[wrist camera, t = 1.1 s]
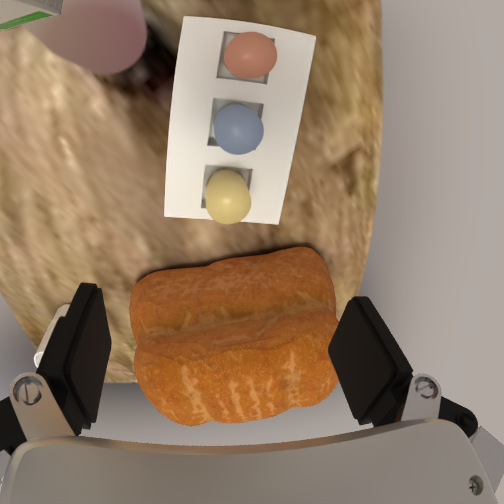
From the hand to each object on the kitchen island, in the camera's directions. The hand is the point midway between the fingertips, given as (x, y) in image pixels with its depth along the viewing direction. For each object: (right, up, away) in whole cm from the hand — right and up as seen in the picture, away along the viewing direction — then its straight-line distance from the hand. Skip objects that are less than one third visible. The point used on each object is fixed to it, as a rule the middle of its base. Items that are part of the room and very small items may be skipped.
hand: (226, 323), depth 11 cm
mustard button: (-2, +9, +19) cm, 21 cm away
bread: (-2, -4, +32) cm, 32 cm away
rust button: (0, +20, +12) cm, 23 cm away
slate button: (-1, +14, +16) cm, 21 cm away
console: (-1, +16, +18) cm, 24 cm away
